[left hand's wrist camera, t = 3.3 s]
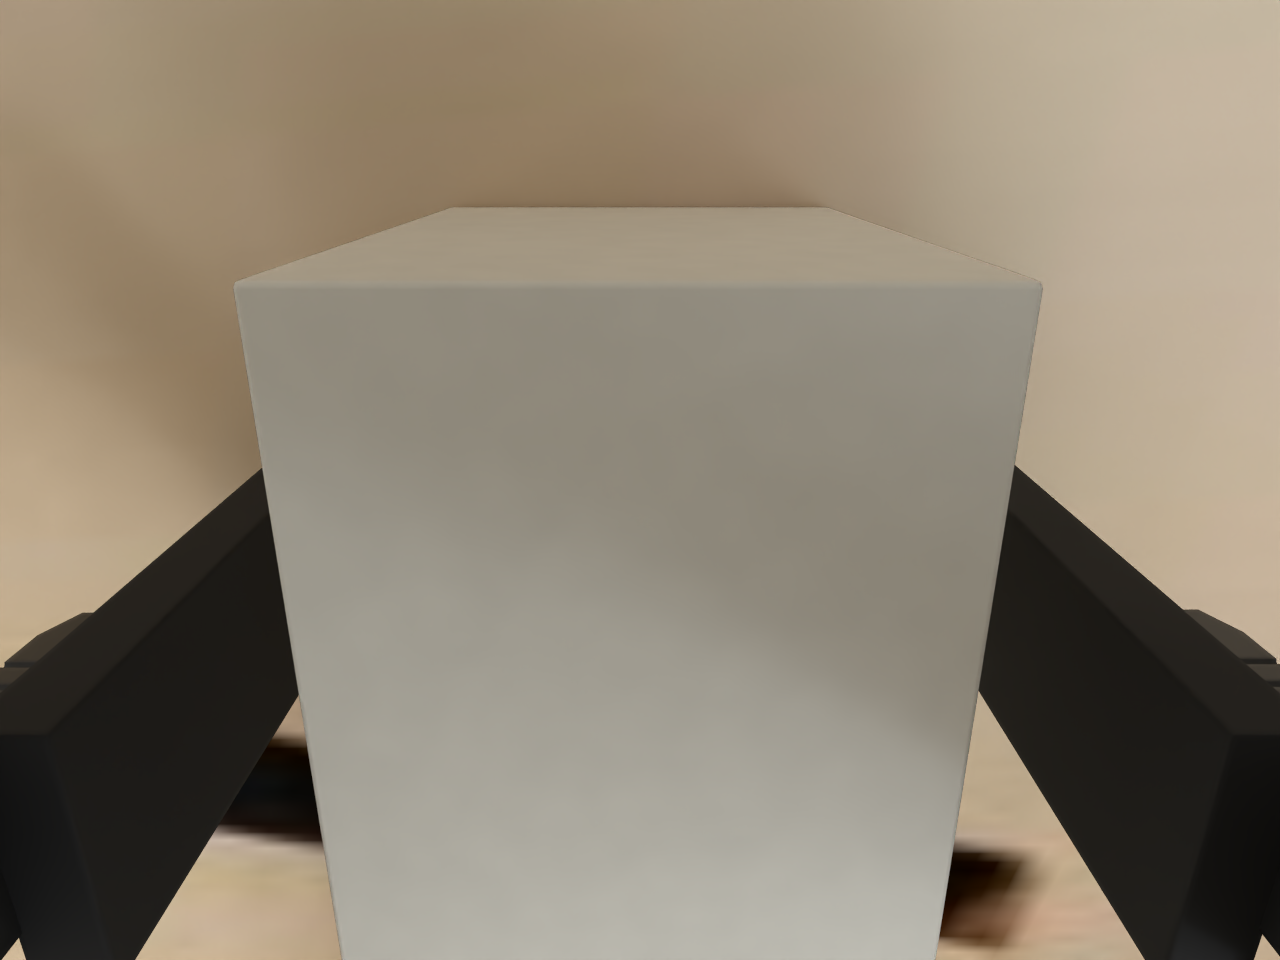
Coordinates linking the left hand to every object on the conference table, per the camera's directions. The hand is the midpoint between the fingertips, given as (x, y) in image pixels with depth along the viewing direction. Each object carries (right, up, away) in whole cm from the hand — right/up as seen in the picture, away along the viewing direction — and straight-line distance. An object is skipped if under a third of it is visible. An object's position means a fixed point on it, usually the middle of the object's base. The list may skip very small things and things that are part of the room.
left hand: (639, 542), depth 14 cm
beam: (0, -34, +14) cm, 37 cm away
